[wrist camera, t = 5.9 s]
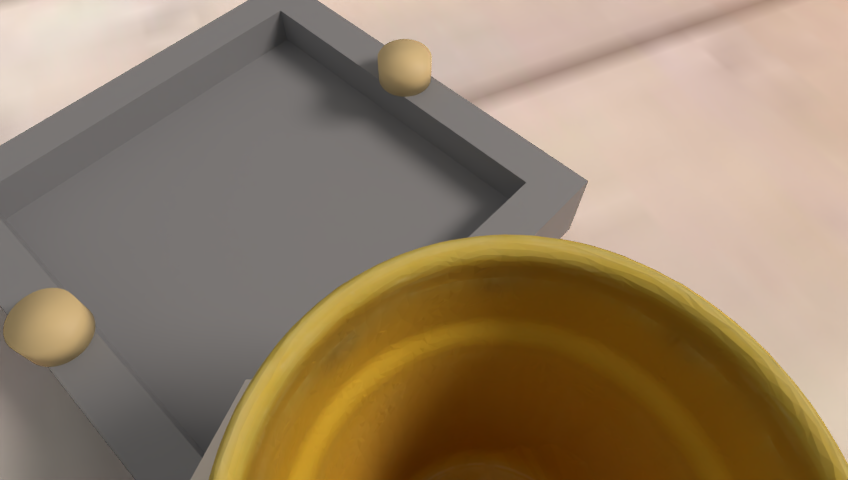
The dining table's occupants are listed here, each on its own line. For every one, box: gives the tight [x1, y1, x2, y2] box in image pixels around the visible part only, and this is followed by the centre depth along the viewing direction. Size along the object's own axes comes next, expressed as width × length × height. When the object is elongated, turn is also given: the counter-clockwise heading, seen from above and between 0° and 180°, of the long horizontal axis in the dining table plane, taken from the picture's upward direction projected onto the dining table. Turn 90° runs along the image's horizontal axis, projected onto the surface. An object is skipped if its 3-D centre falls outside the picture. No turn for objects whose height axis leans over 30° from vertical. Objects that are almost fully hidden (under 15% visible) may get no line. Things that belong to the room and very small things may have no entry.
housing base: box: [0, 0, 588, 480], centre depth 21 cm, size 16×16×4 cm
